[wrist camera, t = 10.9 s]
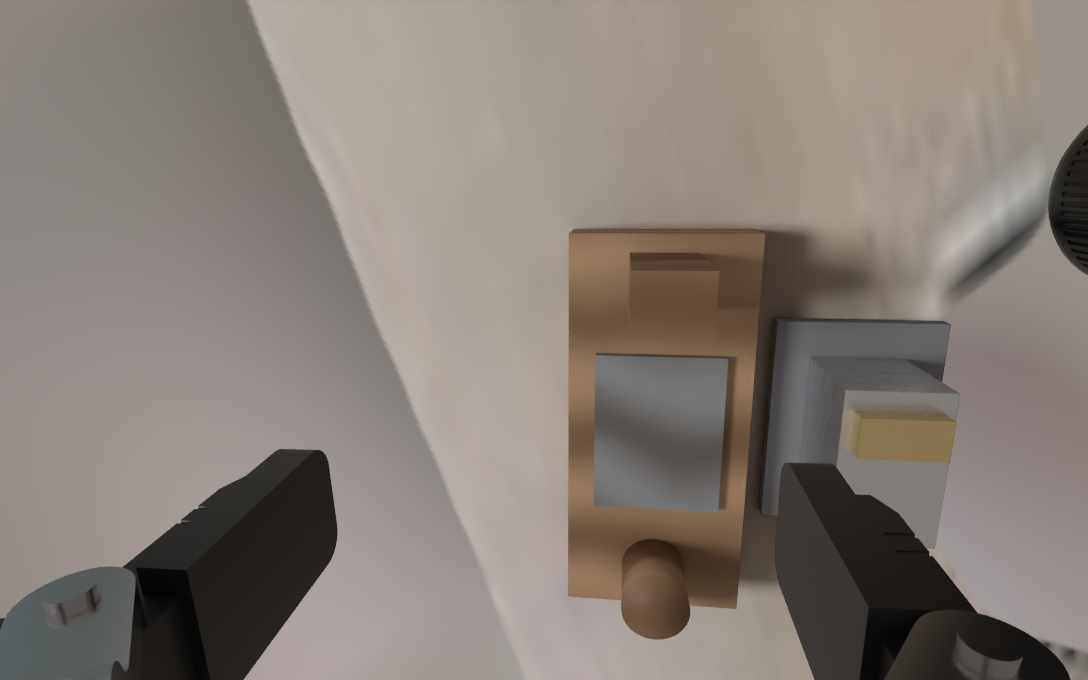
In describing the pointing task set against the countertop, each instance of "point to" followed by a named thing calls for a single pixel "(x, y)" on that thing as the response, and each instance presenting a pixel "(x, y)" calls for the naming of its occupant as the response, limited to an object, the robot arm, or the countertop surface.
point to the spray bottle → (1071, 202)
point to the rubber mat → (831, 339)
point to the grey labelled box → (882, 433)
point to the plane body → (660, 417)
